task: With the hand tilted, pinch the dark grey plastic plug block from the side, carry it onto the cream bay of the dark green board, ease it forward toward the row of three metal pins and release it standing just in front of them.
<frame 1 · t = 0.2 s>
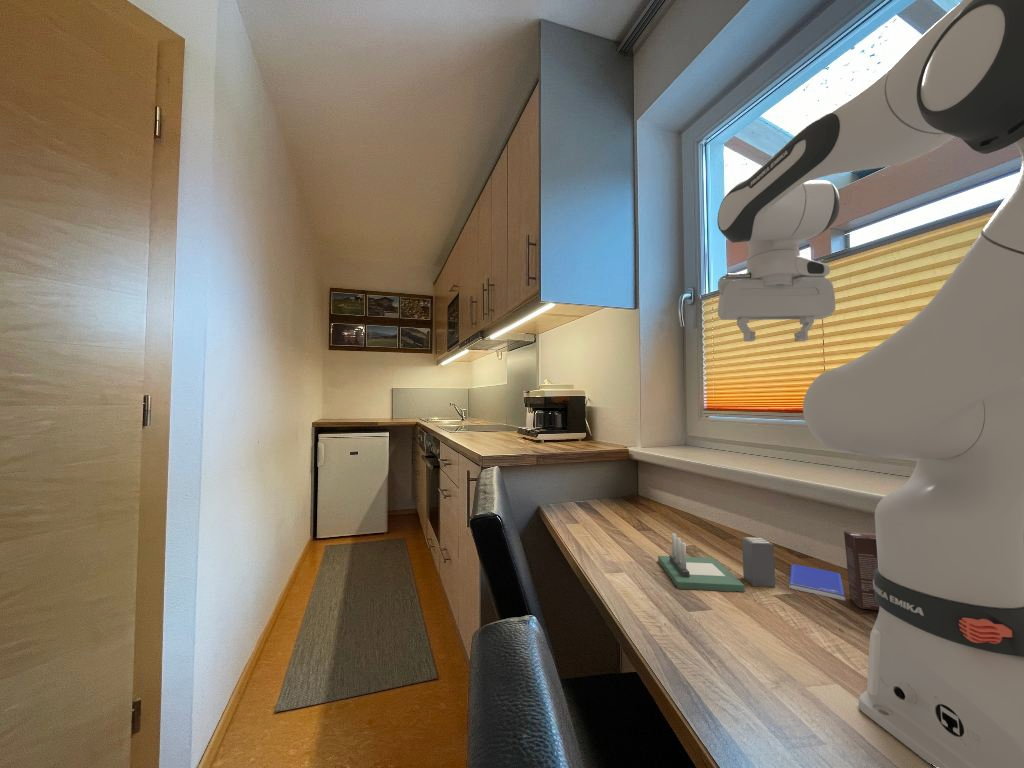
hand: (775, 341, 77), 47 cm above the table, tool pointing down, fingers open, 8 cm apart
box: (874, 607, 68), on the table
hard drive: (816, 586, 77), on the table
header board: (697, 575, 81), on the table
plug: (759, 582, 77), on the table
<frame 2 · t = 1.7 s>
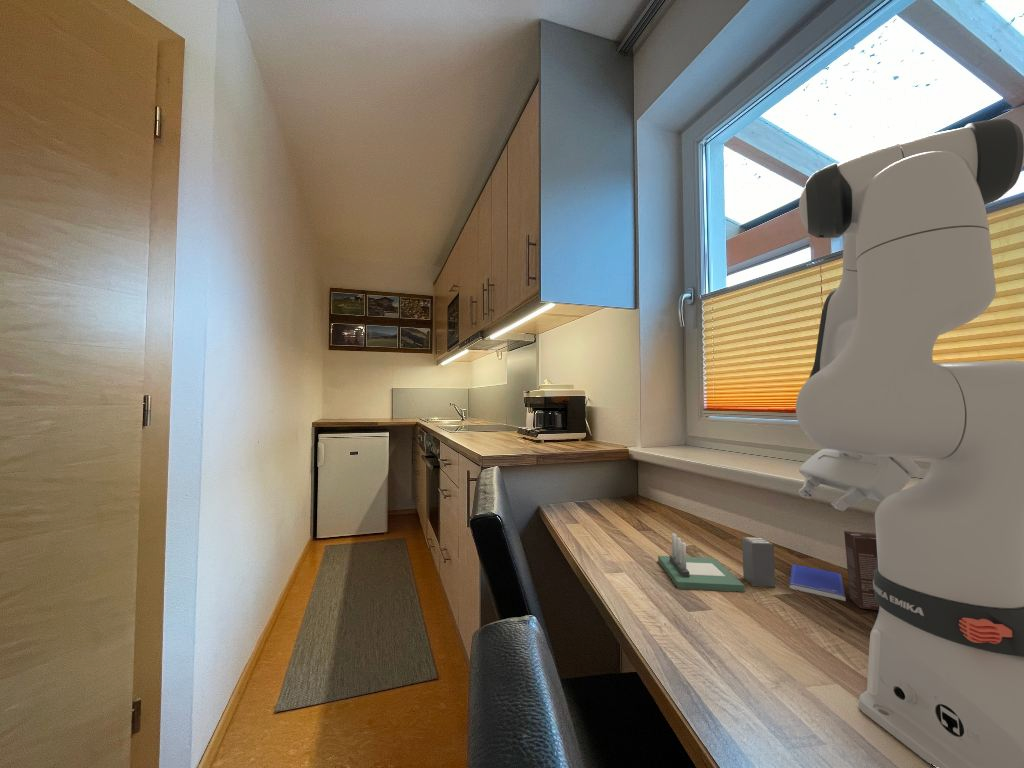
hand: (818, 501, 78), 16 cm above the table, tool tilted 45°, fingers open, 8 cm apart
nothing on the table moved.
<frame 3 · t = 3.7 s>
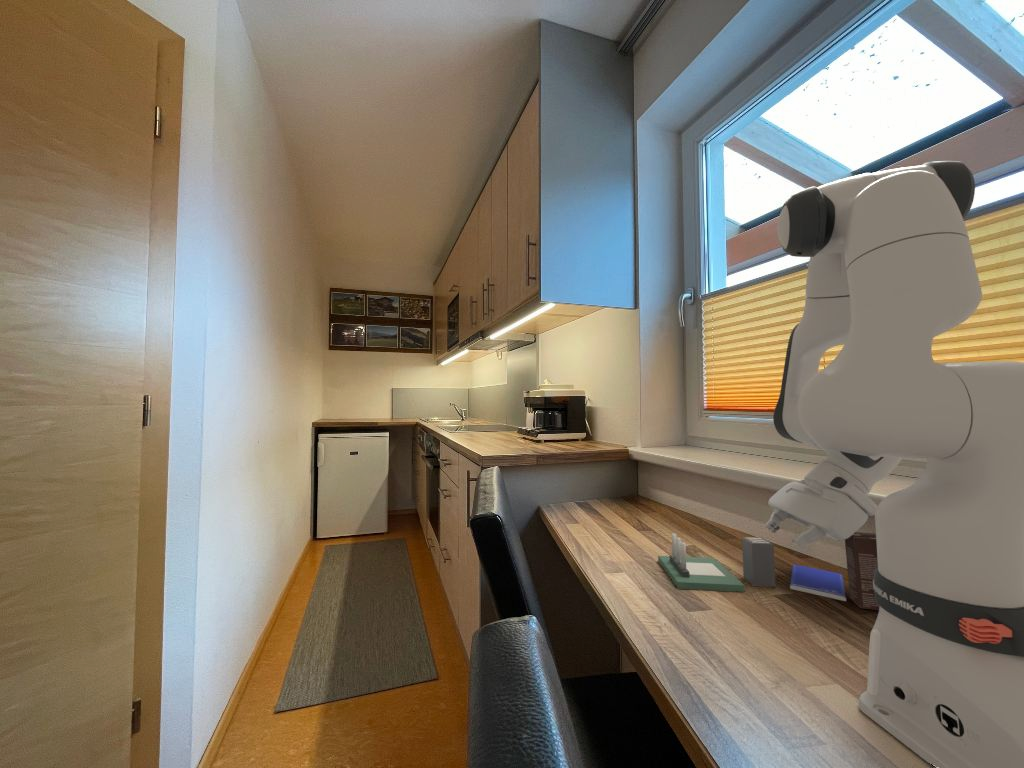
hand: (781, 536, 78), 9 cm above the table, tool tilted 45°, fingers open, 8 cm apart
nothing on the table moved.
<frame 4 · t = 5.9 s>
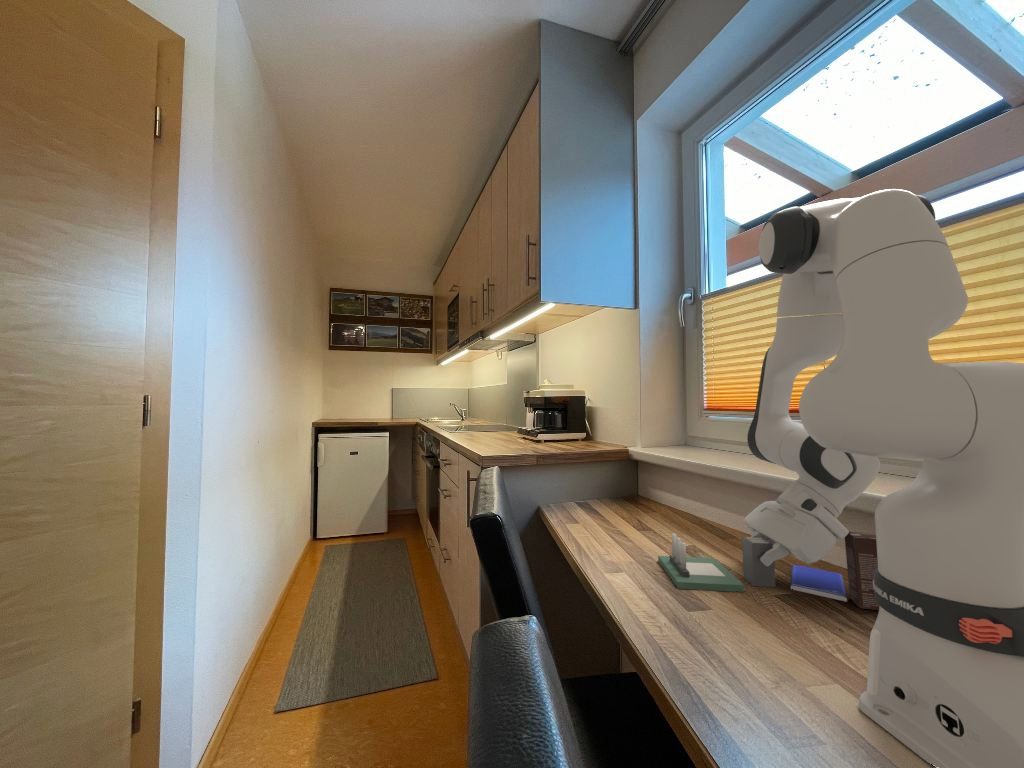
hand: (754, 557, 78), 5 cm above the table, tool tilted 45°, fingers closed on plug, 4 cm apart
plug: (759, 582, 77), on the table, touching gripper
everything else where it was.
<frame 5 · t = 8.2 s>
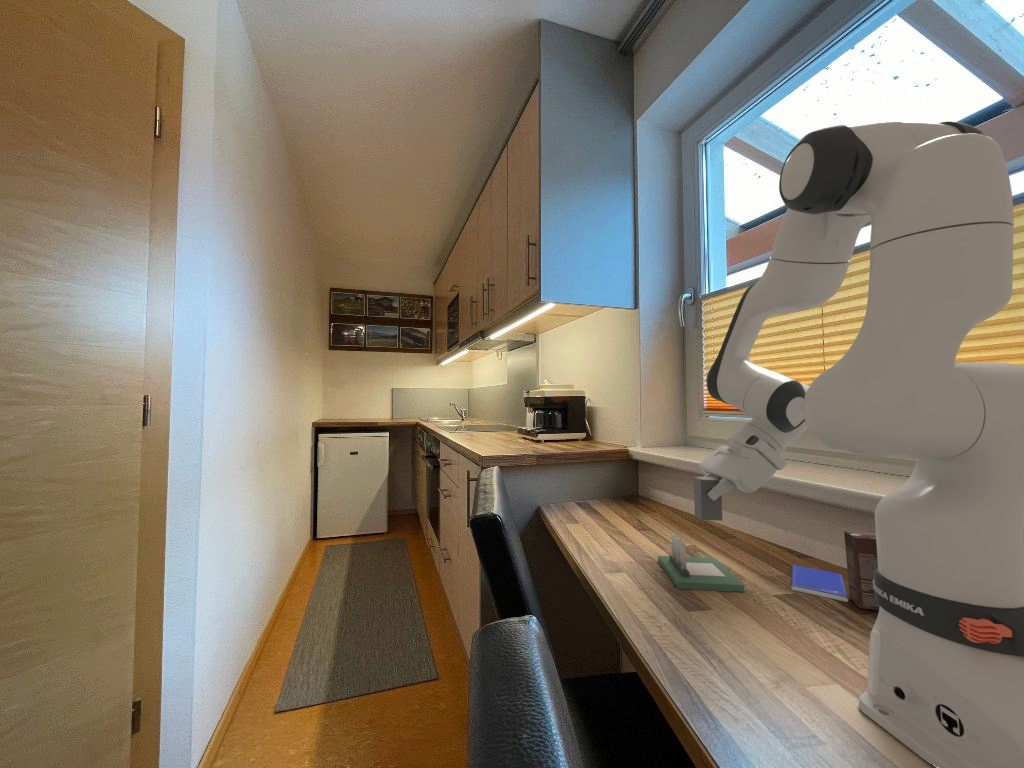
hand: (704, 494, 82), 16 cm above the table, tool tilted 45°, fingers closed on plug, 4 cm apart
plug: (708, 517, 81), point 12 cm above the table, touching gripper
everything else where it was.
when the fingers open (7 cm above the table, at t = 10.6 s): plug drops 1 cm, resting on header board.
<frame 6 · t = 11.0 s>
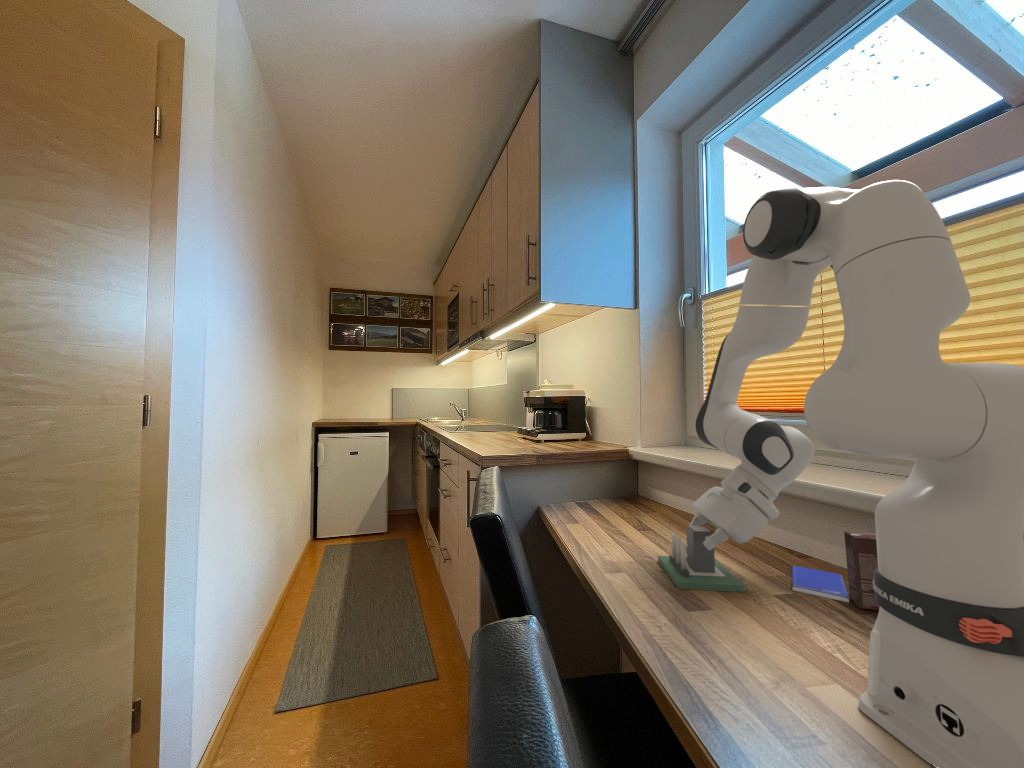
hand: (696, 539, 81), 7 cm above the table, tool tilted 45°, fingers open, 8 cm apart
plug: (700, 568, 81), point 1 cm above the table, touching header board
everything else where it was.
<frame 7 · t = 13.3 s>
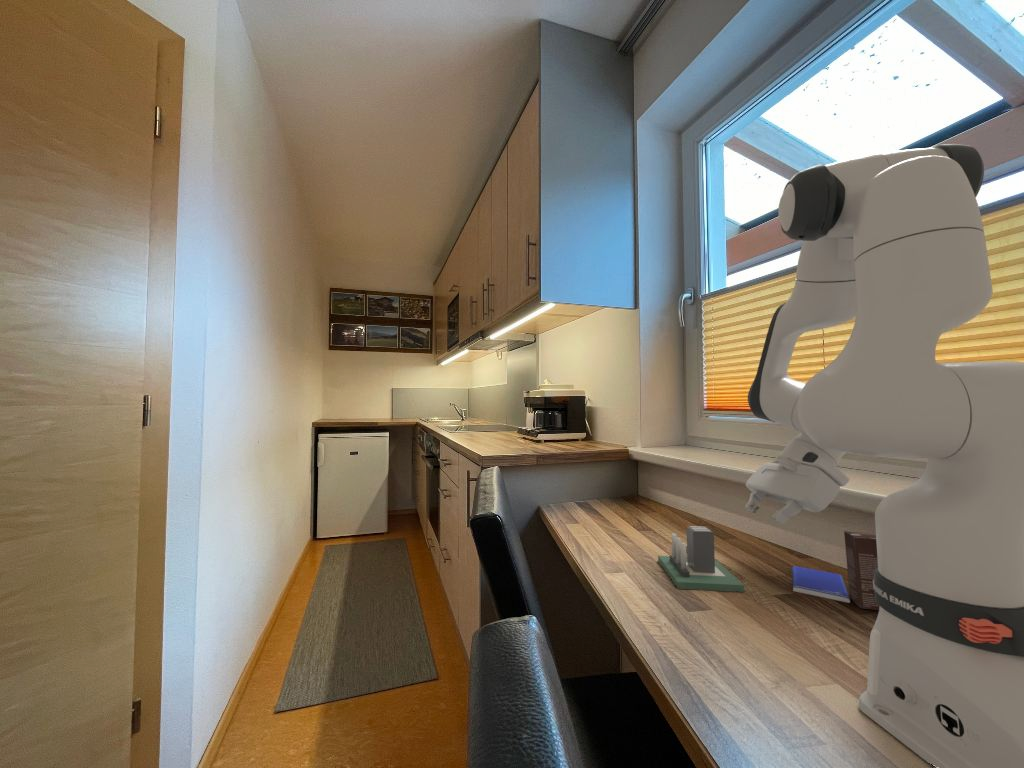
hand: (762, 515, 80), 12 cm above the table, tool tilted 40°, fingers open, 8 cm apart
nothing on the table moved.
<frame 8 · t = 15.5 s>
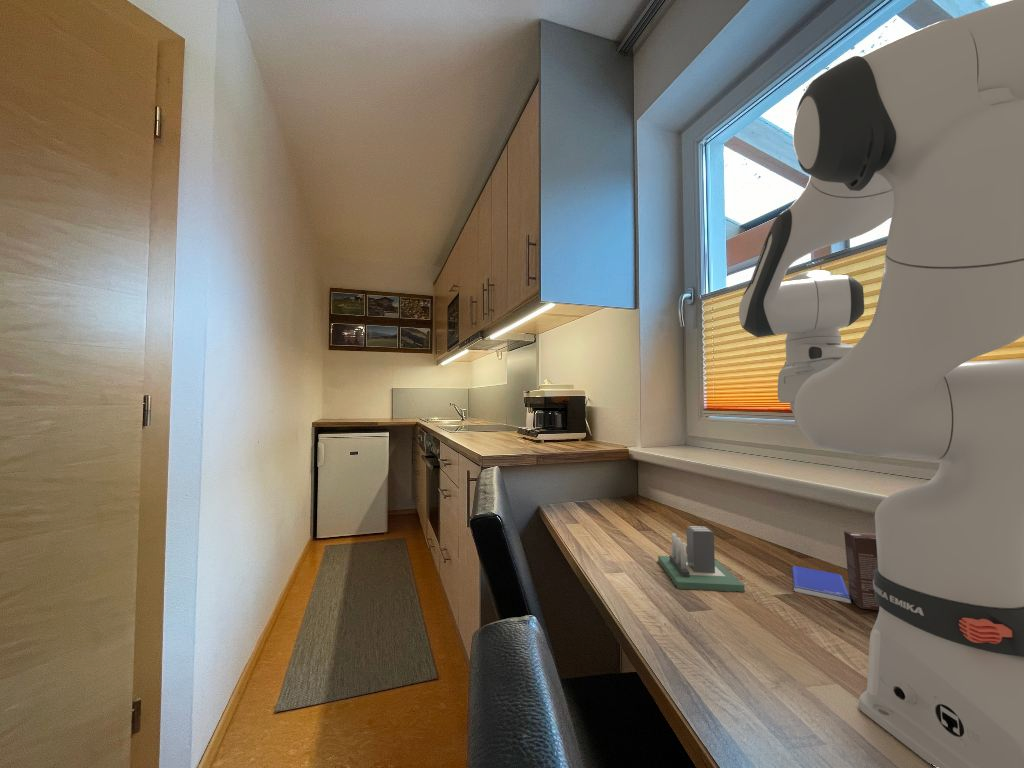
hand: (816, 424, 77), 31 cm above the table, tool pointing down, fingers open, 8 cm apart
nothing on the table moved.
at the end: plug 0.6 cm from the target spot on the header board, point 1.3 cm above the header board's base; plug tilted 0°; the gripper is holding nothing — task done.
